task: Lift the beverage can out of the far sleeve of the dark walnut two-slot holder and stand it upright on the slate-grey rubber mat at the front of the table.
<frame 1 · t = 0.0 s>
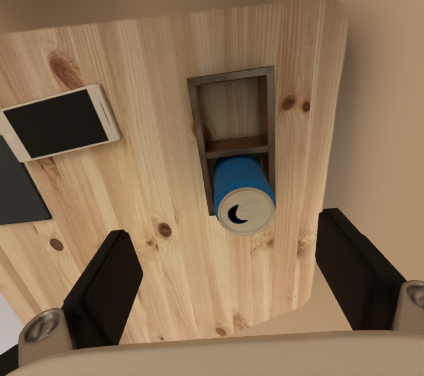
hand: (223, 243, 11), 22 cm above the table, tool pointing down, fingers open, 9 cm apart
smartphone: (60, 125, 31), on the table
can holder: (233, 141, 32), on the table
beverage can: (236, 168, 33), resting in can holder
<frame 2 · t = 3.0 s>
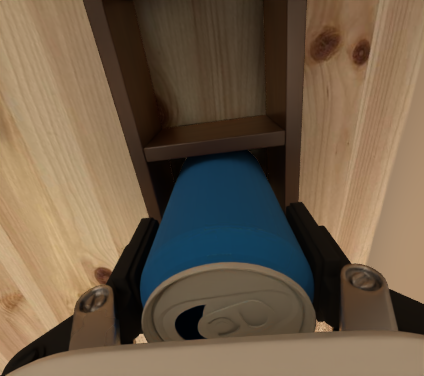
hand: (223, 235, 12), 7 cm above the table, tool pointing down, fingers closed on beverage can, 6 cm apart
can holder: (214, 127, 16), on the table
beverage can: (220, 177, 18), resting in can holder, touching gripper
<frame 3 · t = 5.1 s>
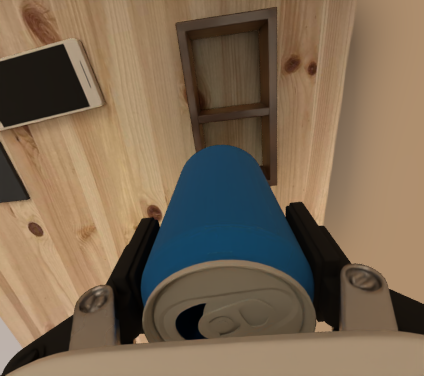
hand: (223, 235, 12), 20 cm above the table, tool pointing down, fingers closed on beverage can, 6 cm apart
smartphone: (35, 88, 28), on the table
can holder: (230, 109, 28), on the table
beverage can: (221, 180, 18), point 13 cm above the table, touching gripper
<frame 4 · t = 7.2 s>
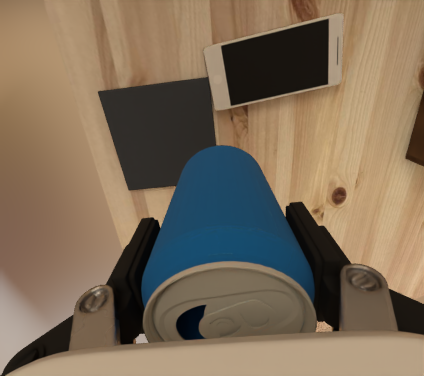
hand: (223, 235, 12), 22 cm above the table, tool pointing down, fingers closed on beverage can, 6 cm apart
smartphone: (272, 66, 27), on the table
beverage can: (221, 181, 18), point 14 cm above the table, touching gripper
mat: (164, 139, 31), on the table
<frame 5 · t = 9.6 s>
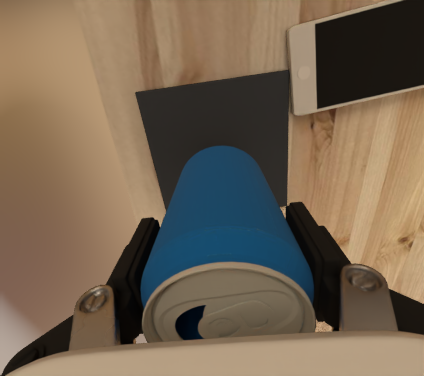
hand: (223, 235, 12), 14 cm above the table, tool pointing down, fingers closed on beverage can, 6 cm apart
smartphone: (378, 53, 20), on the table
beverage can: (221, 181, 18), point 6 cm above the table, touching gripper
mat: (219, 154, 24), on the table
when the fingers open (8 cm above the table, at t = 11.5 s): beverage can stays where it is, resting on mat.
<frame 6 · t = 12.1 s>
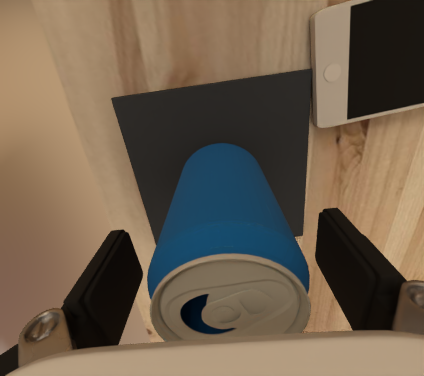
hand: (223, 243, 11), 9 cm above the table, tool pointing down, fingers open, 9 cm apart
beverage can: (221, 178, 19), resting on mat
mat: (220, 174, 19), on the table
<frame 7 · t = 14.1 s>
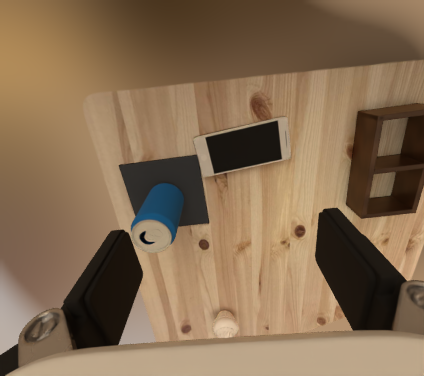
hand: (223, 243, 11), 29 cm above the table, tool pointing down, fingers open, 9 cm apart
muffin: (224, 313, 57), on the table
smartphone: (242, 147, 39), on the table
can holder: (377, 158, 40), on the table
beverage can: (167, 196, 43), resting on mat
mat: (167, 195, 43), on the table
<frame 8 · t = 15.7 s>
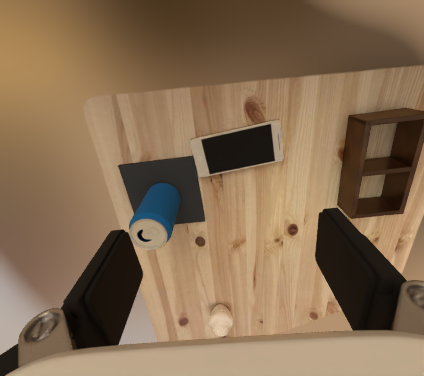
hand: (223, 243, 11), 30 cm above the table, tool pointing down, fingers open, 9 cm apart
muffin: (220, 307, 60), on the table
smartphone: (236, 149, 40), on the table
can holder: (368, 161, 41), on the table
beverage can: (164, 195, 44), resting on mat
mat: (164, 194, 44), on the table
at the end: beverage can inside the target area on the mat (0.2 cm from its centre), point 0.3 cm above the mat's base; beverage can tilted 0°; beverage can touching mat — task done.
